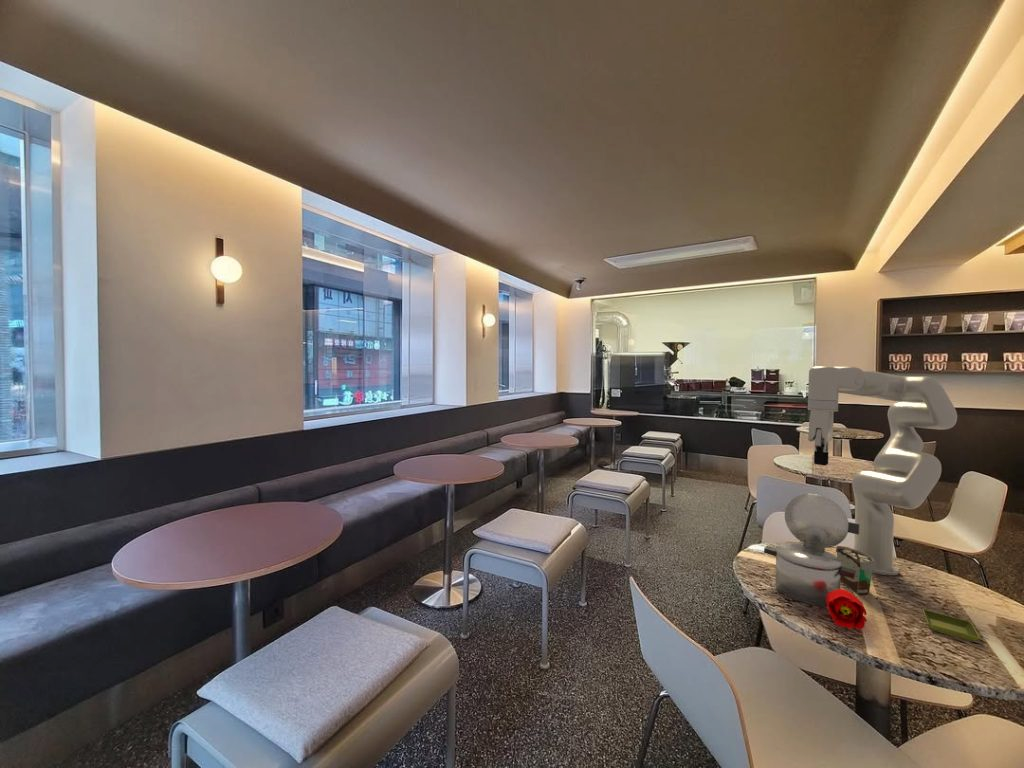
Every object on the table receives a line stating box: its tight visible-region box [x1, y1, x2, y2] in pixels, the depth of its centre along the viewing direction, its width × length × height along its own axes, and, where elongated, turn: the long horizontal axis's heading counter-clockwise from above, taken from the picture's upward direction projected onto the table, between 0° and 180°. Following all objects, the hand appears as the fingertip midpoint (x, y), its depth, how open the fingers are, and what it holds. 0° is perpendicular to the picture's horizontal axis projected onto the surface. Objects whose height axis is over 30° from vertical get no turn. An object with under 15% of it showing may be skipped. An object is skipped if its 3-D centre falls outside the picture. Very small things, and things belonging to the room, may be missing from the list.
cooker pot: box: [763, 543, 856, 608], centre depth 116 cm, size 15×21×11 cm
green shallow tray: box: [922, 609, 981, 642], centre depth 99 cm, size 9×9×2 cm
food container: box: [835, 545, 876, 596], centre depth 119 cm, size 12×6×10 cm, turn 168°
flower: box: [826, 588, 868, 630], centre depth 102 cm, size 8×8×8 cm
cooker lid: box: [784, 493, 860, 551], centre depth 122 cm, size 16×18×3 cm
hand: (821, 464), depth 126 cm, fingers closed
